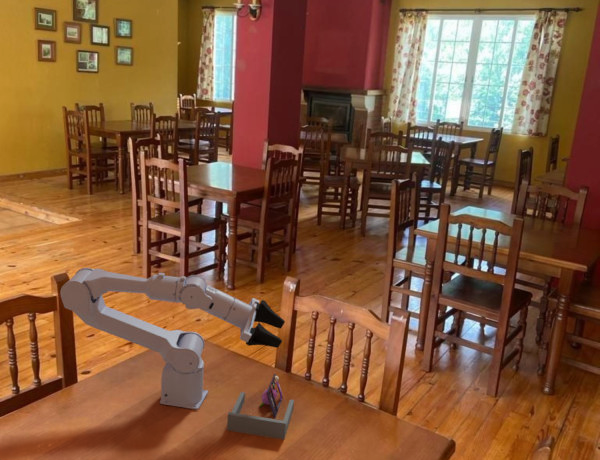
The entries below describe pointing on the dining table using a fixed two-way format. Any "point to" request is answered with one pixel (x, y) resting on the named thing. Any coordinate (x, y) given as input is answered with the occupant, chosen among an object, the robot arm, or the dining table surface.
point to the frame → (258, 421)
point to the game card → (272, 396)
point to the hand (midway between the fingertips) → (281, 334)
